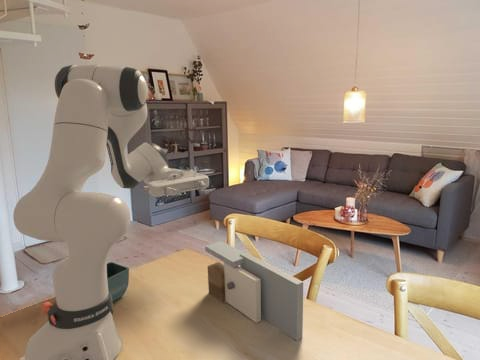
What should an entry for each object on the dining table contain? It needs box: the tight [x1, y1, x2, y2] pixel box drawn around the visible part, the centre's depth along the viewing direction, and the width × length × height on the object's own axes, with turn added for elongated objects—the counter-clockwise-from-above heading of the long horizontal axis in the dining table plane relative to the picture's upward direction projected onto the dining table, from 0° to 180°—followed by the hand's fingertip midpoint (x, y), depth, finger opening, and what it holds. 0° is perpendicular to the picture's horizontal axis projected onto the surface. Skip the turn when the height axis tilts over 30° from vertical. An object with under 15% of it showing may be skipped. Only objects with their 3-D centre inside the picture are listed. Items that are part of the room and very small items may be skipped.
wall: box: [204, 240, 304, 341], centre depth 101 cm, size 6×34×15 cm, turn 37°
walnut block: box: [207, 261, 226, 304], centre depth 110 cm, size 4×7×9 cm, turn 37°
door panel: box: [223, 262, 262, 324], centre depth 101 cm, size 3×14×12 cm, turn 37°
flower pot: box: [107, 261, 130, 302], centre depth 110 cm, size 9×9×9 cm
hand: (191, 189), depth 115 cm, fingers open, 8 cm apart
